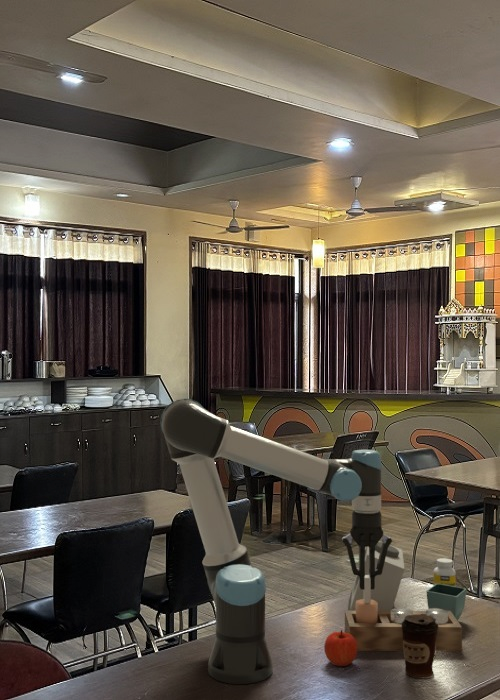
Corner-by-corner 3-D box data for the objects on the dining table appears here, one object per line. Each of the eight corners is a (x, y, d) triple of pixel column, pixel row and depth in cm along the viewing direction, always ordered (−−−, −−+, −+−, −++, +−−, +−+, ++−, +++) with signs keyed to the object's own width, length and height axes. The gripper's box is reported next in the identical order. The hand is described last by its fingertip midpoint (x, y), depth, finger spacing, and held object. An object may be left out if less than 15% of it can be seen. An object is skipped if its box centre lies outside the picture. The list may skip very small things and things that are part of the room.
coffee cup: (430, 684, 177) (430, 627, 177) (395, 676, 182) (395, 620, 181) (442, 671, 185) (443, 616, 184) (409, 663, 189) (409, 609, 189)
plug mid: (392, 642, 200) (392, 615, 200) (389, 634, 206) (389, 607, 206) (414, 642, 200) (414, 615, 200) (410, 634, 206) (410, 608, 206)
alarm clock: (348, 600, 236) (348, 533, 236) (402, 603, 234) (402, 535, 234) (346, 624, 216) (346, 550, 216) (404, 627, 214) (404, 552, 214)
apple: (338, 654, 195) (338, 621, 195) (364, 663, 189) (364, 630, 189) (317, 663, 189) (317, 630, 189) (343, 673, 184) (343, 639, 184)
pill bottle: (434, 601, 235) (434, 562, 235) (432, 594, 241) (432, 557, 241) (456, 602, 234) (456, 563, 234) (454, 595, 240) (454, 557, 240)
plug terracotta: (357, 633, 200) (357, 606, 200) (354, 625, 206) (354, 598, 206) (379, 633, 200) (379, 606, 200) (375, 625, 206) (375, 599, 206)
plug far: (427, 642, 200) (427, 615, 200) (423, 634, 206) (423, 608, 206) (450, 643, 200) (450, 615, 200) (445, 635, 206) (445, 608, 205)
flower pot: (467, 620, 219) (467, 588, 219) (457, 629, 212) (457, 596, 212) (436, 614, 224) (436, 582, 224) (425, 623, 216) (425, 591, 216)
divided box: (349, 650, 197) (349, 626, 197) (344, 632, 209) (344, 610, 209) (461, 651, 197) (461, 627, 197) (450, 633, 209) (450, 611, 209)
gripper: (342, 513, 199) (343, 606, 199) (394, 513, 199) (394, 606, 199) (339, 507, 207) (340, 597, 207) (389, 507, 207) (390, 597, 207)
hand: (367, 601), depth 203 cm, fingers closed
